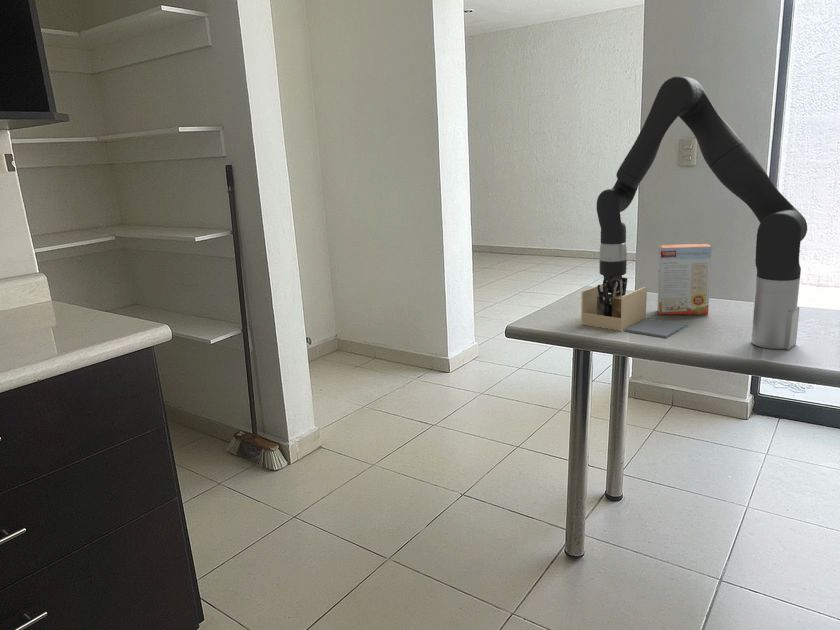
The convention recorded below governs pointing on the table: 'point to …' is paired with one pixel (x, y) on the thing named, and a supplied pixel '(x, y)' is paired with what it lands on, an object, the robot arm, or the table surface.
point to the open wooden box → (630, 310)
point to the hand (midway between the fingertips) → (612, 314)
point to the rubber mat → (656, 327)
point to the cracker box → (684, 279)
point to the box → (615, 306)
